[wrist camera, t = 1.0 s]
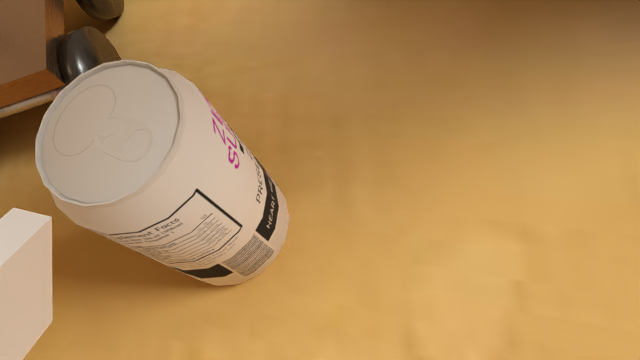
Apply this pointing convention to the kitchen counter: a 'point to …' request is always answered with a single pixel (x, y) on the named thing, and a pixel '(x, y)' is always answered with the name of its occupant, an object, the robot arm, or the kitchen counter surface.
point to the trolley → (48, 50)
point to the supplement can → (160, 173)
